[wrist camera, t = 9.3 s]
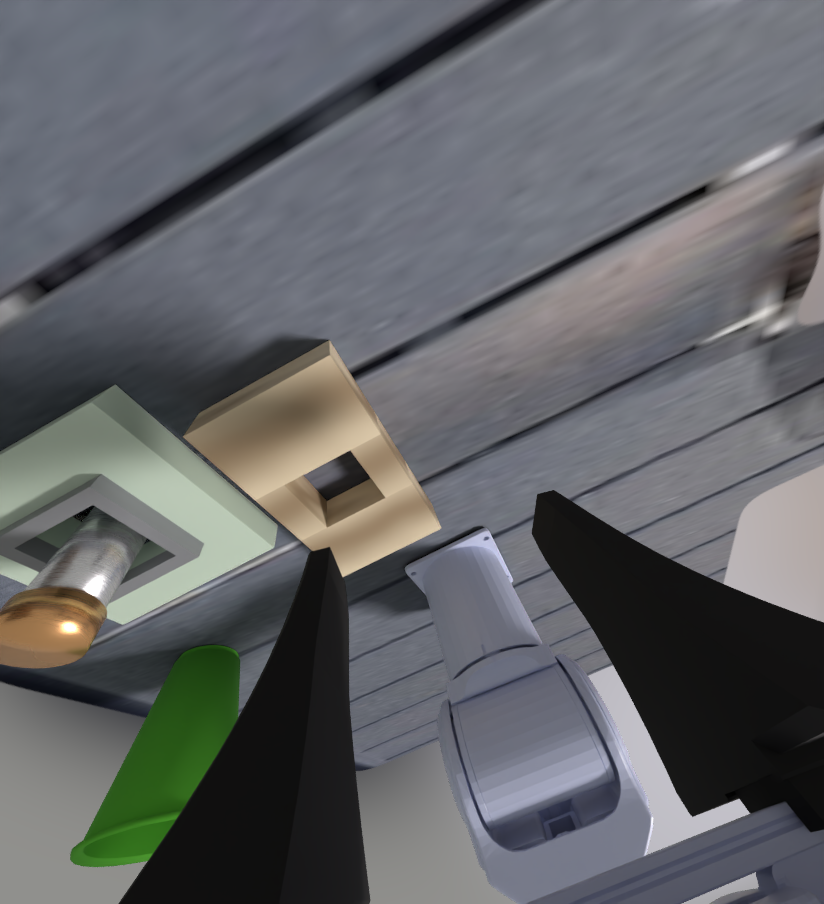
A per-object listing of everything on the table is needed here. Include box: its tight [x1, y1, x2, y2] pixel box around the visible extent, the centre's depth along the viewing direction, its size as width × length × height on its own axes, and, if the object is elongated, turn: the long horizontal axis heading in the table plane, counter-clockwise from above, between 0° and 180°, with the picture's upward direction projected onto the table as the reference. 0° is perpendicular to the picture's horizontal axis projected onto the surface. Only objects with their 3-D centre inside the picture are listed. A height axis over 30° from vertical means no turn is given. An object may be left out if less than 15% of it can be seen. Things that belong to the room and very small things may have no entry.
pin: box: [0, 507, 147, 668], centre depth 16 cm, size 3×3×8 cm
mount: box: [183, 340, 441, 577], centre depth 20 cm, size 14×8×2 cm, turn 25°
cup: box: [70, 645, 240, 867], centre depth 25 cm, size 9×9×11 cm
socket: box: [0, 385, 278, 625], centre depth 18 cm, size 12×12×3 cm
